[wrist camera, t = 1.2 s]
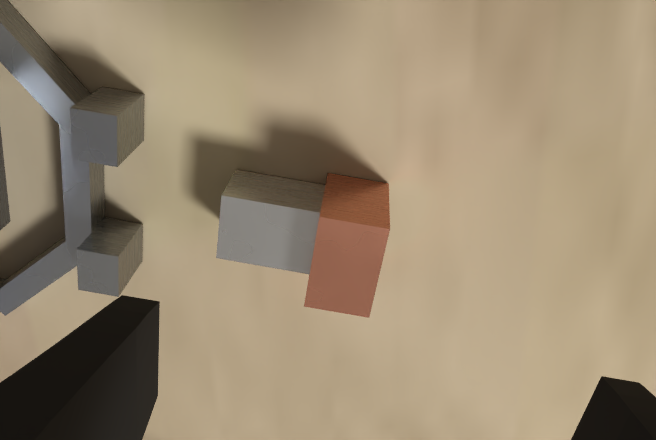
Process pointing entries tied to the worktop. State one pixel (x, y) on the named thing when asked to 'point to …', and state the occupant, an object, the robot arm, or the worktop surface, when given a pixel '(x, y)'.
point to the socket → (76, 168)
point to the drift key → (310, 233)
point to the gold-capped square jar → (3, 192)
